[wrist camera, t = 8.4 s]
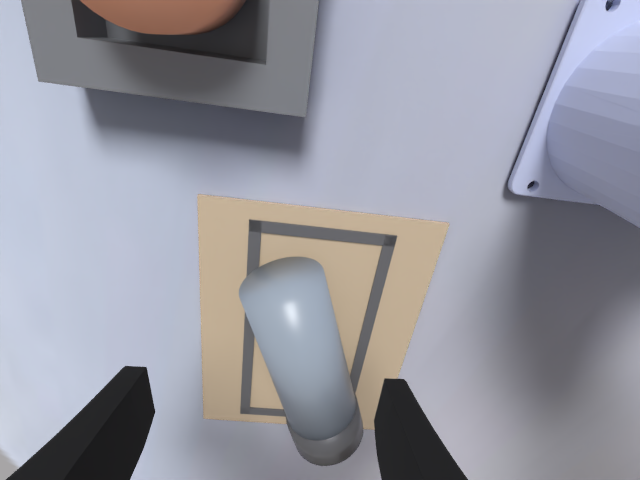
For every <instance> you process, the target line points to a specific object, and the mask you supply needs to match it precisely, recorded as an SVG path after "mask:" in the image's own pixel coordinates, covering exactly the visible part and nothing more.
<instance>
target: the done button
mask: <svg viewBox="0 0 640 480" xmlns="http://www.w3.org/2000/svg"><path fill="white" fill-rule="evenodd" d="M80 1H81V2H82V3H83V4H85V5H86V6H87V7H88V8H90V9H91V10H92V11H93V12H95V13H96V14H98V15H99V16H101V17H103V18H104V19H106V20H108V21H110V22H112V23H114V24H116V25H118V26H120V27H123V28H126V29H128V30H131V31H136V32H140V33H146V34H164V35H196V34H203V33H207V32H210V31H213V30H215V29H217V28H219V27H221V26H222V25H224V24H226V23H227V22H228V21H229V20H231V19H232V18H233V17H234V16H235V15H236V14H237V13H238V11H239V10H240V9H241V7H242V6H243V4H244V3H245V1H246V0H80Z"/></svg>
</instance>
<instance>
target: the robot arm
mask: <svg viewBox="0 0 640 480" xmlns="http://www.w3.org/2000/svg"><path fill="white" fill-rule="evenodd" d="M606 2H607V0H581V1H580V3H579V6H578V8H577V11H576V13H575V16H574V18H573V21H572V23H571V26H570V28H569V31H568V33H567V36H566V38H565V41H564V43H563V46H562V48H561V51H560V53H559V56H558V58H557V61H556V63H555V66H554V68H553V71H552V73H551V76H550V78H549V81H548V83H547V86H546V88H545V91H544V93H543V96H542V98H541V101H540V103H539V106H538V108H537V111H536V113H535V116H534V118H533V121H532V123H531V126H530V128H529V131H528V133H527V136H526V138H525V141H524V144H523V146H522V149H521V151H520V154H519V156H518V159H517V161H516V164H515V166H514V169H513V171H512V174H511V176H510V179H509V181H508V188H509V190H510V191H511V192H513V193H514V194H517V195H522V196H530V197H539V198H547V199H555V200H563V201H571V202H579V203H587V204H595V205H601V206H603V207H604V208H606V209H608V210H609V211H611V212H613V213H615V214H616V215H618V216H620V217H621V218H623V219H625V220H627V221H628V222H630V223H632V224H634V225H635V226H637V227H639V228H640V0H613V3H612V6H611V8H610V9H609V10H608V11H606V8H605V5H606ZM532 181H535V182H534V185H533V186H532V187H531V188H528V189H527V186H528V184H529V183H530V182H532ZM154 414H155V409H154V404H153V398H152V393H151V388H150V383H149V378H148V373H147V368H146V367H133V366H125V367H124V368H122V369H121V370H120V371H119V373H118V374H117V375H116V376H115V377H114V378H113V379H112V380H111V381H110V382H109V383H108V384H107V385H106V386H105V387H104V388H103V389H102V390H101V391H100V392H99V393H98V394H97V395H96V396H95V397H94V398H93V399H92V400H91V401H90V402H89V403H88V404H87V405H86V406H85V407H84V408H83V409H82V410H81V411H80V412H79V413H78V414H77V415H76V416H75V417H74V418H73V419H72V420H71V421H70V422H69V423H68V424H67V425H66V426H65V427H64V428H63V429H62V430H61V431H60V432H59V433H57V434H56V435H55V436H54V437H53V438H52V439H51V440H50V441H49V442H48V443H47V444H46V445H44V446H43V447H42V448H41V449H40V450H39V451H38V452H37V453H36V454H34V455H33V456H32V457H31V458H30V459H29V460H28V461H27V462H26V463H25V464H23V465H22V466H21V467H20V468H19V469H18V470H17V471H15V472H14V473H13V474H12V475H11V476H10V477H8V478H7V479H6V480H130V478H131V476H132V474H133V471H134V469H135V467H136V465H137V462H138V460H139V458H140V455H141V453H142V451H143V448H144V445H145V442H146V439H147V436H148V433H149V430H150V427H151V424H152V420H153V417H154ZM374 428H375V439H376V449H377V457H378V462H379V468H380V473H381V478H382V480H468V479H467V478H466V476H465V475H464V473H463V472H462V471H461V469H460V468H459V466H458V465H457V464H456V462H455V461H454V459H453V458H452V456H451V455H450V453H449V452H448V450H447V449H446V447H445V446H444V444H443V443H442V441H441V439H440V438H439V436H438V435H437V433H436V432H435V430H434V429H433V427H432V425H431V424H430V422H429V420H428V419H427V417H426V415H425V414H424V412H423V410H422V409H421V407H420V405H419V404H418V402H417V400H416V398H415V397H414V395H413V393H412V391H411V389H410V388H409V386H408V384H407V382H406V381H405V380H404V379H389V378H384V382H383V386H382V390H381V394H380V398H379V402H378V406H377V410H376V414H375V418H374Z"/></svg>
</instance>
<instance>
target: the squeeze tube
mask: <svg viewBox="0 0 640 480" xmlns="http://www.w3.org/2000/svg"><path fill="white" fill-rule="evenodd" d="M239 298H240V300H241V303H242V305H243V308H244V310H245V313H246V315H247V318H248V320H249V323H250V326H251V328H252V331H253V333H254V336H255V338H256V341H257V343H258V346H259V348H260V351H261V353H262V356H263V358H264V361H265V363H266V366H267V368H268V371H269V373H270V376H271V378H272V381H273V384H274V386H275V389H276V391H277V394H278V396H279V399H280V401H281V404H282V406H283V409H284V411H285V414H286V422H287V425H288V428H289V431H290V433H291V436H292V438H293V441H294V443H295V446H296V448H297V450H298V452H299V453H300V455H301V456H302V457H303V458H304V459H306V460H307V461H308V462H310V463H313V464H316V465H320V466H329V465H334V464H338V463H340V462H342V461H344V460H346V459H347V458H348V457H350V456H351V455H352V454H353V453H354V452H355V450H356V449H357V448H358V446H359V444H360V442H361V439H362V436H363V421H362V417H361V413H360V409H359V405H358V401H357V397H356V394H355V393H354V391H353V387H352V383H351V379H350V375H349V371H348V367H347V363H346V358H345V354H344V350H343V346H342V342H341V338H340V334H339V330H338V326H337V322H336V318H335V314H334V310H333V305H332V301H331V297H330V293H329V289H328V285H327V281H326V277H325V273H324V269H323V267H322V265H321V264H320V263H319V262H317V261H316V260H314V259H311V258H307V257H286V258H281V259H277V260H274V261H271V262H269V263H266V264H264V265H262V266H260V267H259V268H257V269H255V270H254V271H253V272H251V273H250V274H249V275H248V276H247V277H246V278H245V279H244V281H243V282H242V284H241V286H240V288H239Z"/></svg>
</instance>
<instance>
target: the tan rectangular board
mask: <svg viewBox="0 0 640 480" xmlns="http://www.w3.org/2000/svg"><path fill="white" fill-rule="evenodd" d="M197 198H198V234H199V271H200V307H201V343H202V380H203V416H204V419H216V420H232V421H247V422H263V423H278V424H287V422H286V414H285V411H284V409H283V406H282V404H281V401H280V399H279V396H278V394H277V391H276V389H275V386H274V384H273V381H272V378H271V376H270V373H269V371H268V368H267V366H266V363H265V361H264V358H263V356H262V353H261V351H260V348H259V346H258V343H257V341H256V338H255V336H254V333H253V331H252V328H251V326H250V323H249V320H248V318H247V315H246V313H245V310H244V308H243V305H242V303H241V300H240V298H239V288H240V286H241V284H242V282H243V281H244V279H245V278H246V277H247V276H248V275H249V274H250V273H251V272H253V271H254V270H255V269H257V268H259V267H260V266H262V265H264V264H266V263H269V262H271V261H274V260H277V259H281V258H286V257H307V258H311V259H314V260H316V261H317V262H319V263H320V264H321V265H322V267H323V269H324V273H325V277H326V281H327V285H328V289H329V293H330V297H331V301H332V305H333V310H334V314H335V318H336V322H337V326H338V330H339V334H340V338H341V342H342V346H343V350H344V354H345V358H346V363H347V367H348V371H349V375H350V379H351V383H352V387H353V391H354V393H355V394H356V397H357V401H358V405H359V409H360V413H361V417H362V421H363V429H371V430H375V428H374V418H375V414H376V410H377V406H378V402H379V398H380V394H381V390H382V386H383V382H384V378H389V379H397V378H398V375H399V372H400V369H401V366H402V363H403V360H404V357H405V355H406V352H407V349H408V346H409V343H410V340H411V337H412V334H413V331H414V328H415V325H416V322H417V319H418V316H419V313H420V310H421V307H422V304H423V301H424V298H425V295H426V292H427V289H428V287H429V284H430V281H431V278H432V275H433V272H434V269H435V266H436V263H437V260H438V257H439V254H440V251H441V248H442V245H443V242H444V239H445V236H446V233H447V230H448V227H449V223H447V222H438V221H429V220H420V219H412V218H403V217H394V216H386V215H377V214H368V213H359V212H351V211H342V210H333V209H325V208H316V207H307V206H298V205H290V204H281V203H272V202H263V201H255V200H246V199H237V198H229V197H220V196H211V195H202V194H198V196H197Z"/></svg>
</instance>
